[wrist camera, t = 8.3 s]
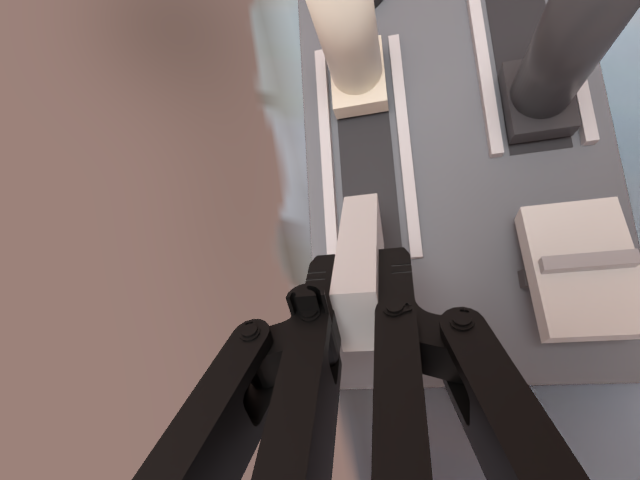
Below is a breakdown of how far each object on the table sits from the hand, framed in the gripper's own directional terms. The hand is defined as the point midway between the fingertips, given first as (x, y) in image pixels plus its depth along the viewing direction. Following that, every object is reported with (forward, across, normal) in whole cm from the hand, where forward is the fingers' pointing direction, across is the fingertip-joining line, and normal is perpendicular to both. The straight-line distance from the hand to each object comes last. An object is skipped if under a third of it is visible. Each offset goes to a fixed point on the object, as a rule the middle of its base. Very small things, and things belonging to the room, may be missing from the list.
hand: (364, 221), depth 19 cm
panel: (+9, +4, 0) cm, 10 cm away
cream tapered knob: (+9, 0, +4) cm, 10 cm away
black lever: (+7, +9, +2) cm, 11 cm away
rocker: (-1, +9, -4) cm, 10 cm away
